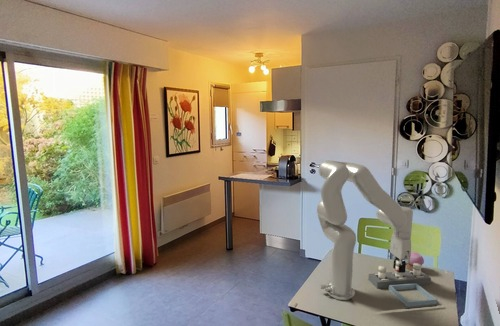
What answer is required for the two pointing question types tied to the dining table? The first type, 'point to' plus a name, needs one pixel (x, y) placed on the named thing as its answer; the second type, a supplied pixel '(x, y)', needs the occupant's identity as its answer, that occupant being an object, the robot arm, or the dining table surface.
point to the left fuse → (382, 272)
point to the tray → (428, 301)
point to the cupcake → (415, 260)
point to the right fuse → (416, 269)
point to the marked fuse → (397, 274)
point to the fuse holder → (398, 279)
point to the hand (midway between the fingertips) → (399, 270)
